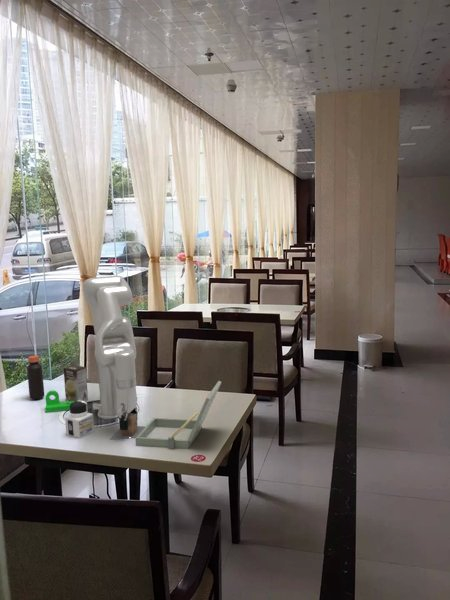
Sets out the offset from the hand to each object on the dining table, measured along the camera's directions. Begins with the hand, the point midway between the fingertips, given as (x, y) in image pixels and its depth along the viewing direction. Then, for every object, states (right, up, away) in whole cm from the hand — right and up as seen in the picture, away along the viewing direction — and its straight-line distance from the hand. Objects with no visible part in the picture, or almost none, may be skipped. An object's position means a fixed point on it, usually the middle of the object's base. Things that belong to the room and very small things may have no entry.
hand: (128, 424), depth 206 cm
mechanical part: (-37, -1, +32) cm, 49 cm away
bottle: (-53, +2, +48) cm, 72 cm away
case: (+21, -4, -5) cm, 22 cm away
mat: (0, -4, +1) cm, 4 cm away
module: (0, -3, +1) cm, 3 cm away
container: (-20, -4, +2) cm, 20 cm away
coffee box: (-32, +1, +42) cm, 53 cm away
